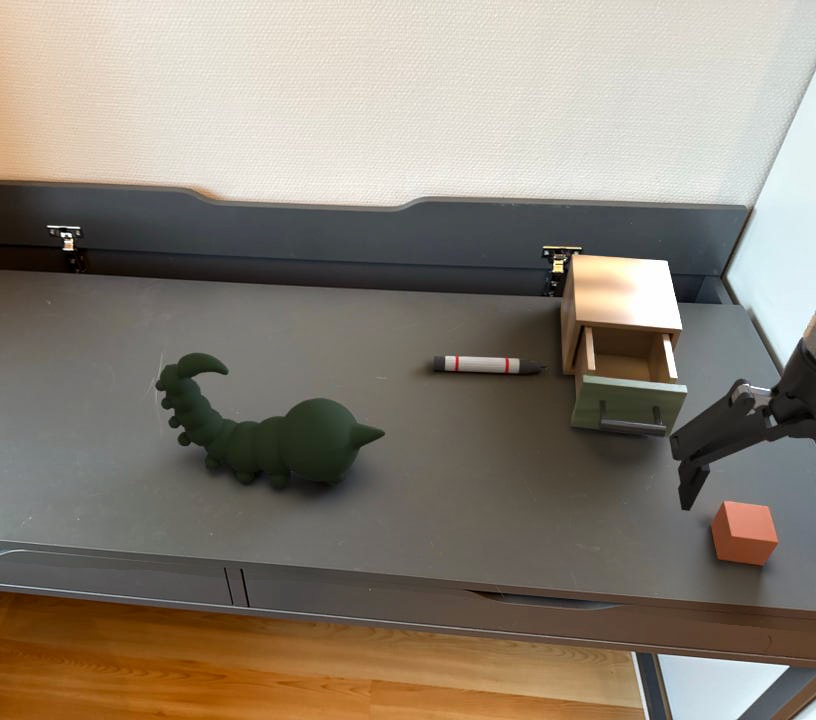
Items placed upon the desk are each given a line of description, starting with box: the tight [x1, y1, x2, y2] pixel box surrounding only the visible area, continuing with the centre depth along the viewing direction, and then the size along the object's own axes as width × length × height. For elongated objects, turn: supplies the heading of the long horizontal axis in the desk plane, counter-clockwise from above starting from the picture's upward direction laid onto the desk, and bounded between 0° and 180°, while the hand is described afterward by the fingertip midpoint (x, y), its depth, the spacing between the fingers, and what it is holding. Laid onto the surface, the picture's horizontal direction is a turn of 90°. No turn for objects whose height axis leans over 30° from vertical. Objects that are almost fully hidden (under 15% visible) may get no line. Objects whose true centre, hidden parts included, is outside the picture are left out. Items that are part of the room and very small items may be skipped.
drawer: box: [570, 325, 688, 438], centre depth 87 cm, size 18×11×8 cm, turn 168°
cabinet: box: [560, 253, 683, 376], centre depth 96 cm, size 15×13×10 cm
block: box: [710, 500, 779, 566], centre depth 74 cm, size 4×4×4 cm
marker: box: [433, 355, 549, 374], centre depth 96 cm, size 15×2×2 cm, turn 84°
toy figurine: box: [154, 352, 386, 488], centre depth 80 cm, size 9×19×25 cm
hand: (755, 509), depth 71 cm, fingers open, 13 cm apart
